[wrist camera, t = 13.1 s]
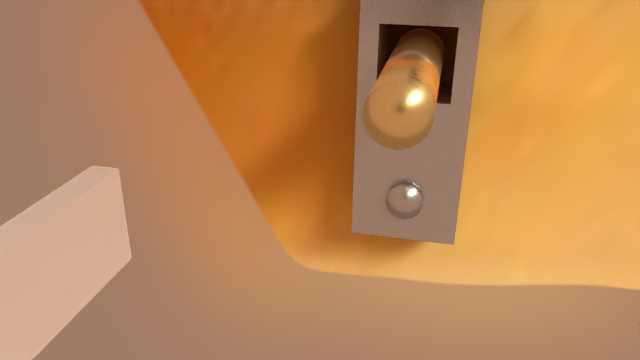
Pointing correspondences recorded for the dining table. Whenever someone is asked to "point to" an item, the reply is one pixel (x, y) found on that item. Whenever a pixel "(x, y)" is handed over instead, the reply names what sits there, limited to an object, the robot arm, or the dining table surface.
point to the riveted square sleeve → (435, 150)
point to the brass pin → (406, 92)
